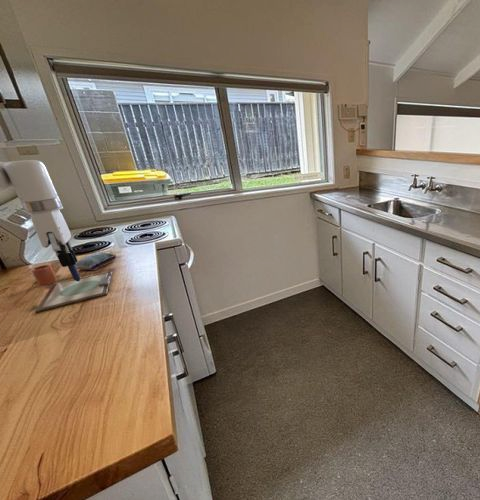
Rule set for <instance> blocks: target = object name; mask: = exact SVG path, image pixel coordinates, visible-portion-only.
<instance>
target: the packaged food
mask: <svg viewBox="0 0 480 500" xmlns="http://www.w3.org/2000/svg"><path fill="white" fill-rule="evenodd" d="M116 258H118V257H117V255H116V254H114V253H108V252H96V253H92V254H88V255H87V256H84V257H82V258H80V259H79V260H78V261H77V262H76V264H75V267H76V269H77V270H81V271H87V270H88V271H95V270H98V269H99V268H101V267H104V266H106V265H108V264H110V263H111V262H113V261H115V259H116Z"/></svg>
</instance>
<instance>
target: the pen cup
mask: <svg viewBox="0 0 480 500" xmlns="http://www.w3.org/2000/svg"><path fill="white" fill-rule="evenodd" d="M30 270H31V273H32V275H33V277H34V279H35V281H36V283H37V285H38V286H47V285H50V284H54V283H55V282H57V281H58V277H57V276H56V273H55V272H54V270H53V267H52V266H51V264H43V265H38V266H36V267H32V268H31V269H30Z"/></svg>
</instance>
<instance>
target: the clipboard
mask: <svg viewBox="0 0 480 500" xmlns="http://www.w3.org/2000/svg"><path fill="white" fill-rule="evenodd" d="M112 274H113V271H106V272H102V273H98V274H93V275H88V276H83V277H81V279H80V281H78V282H77V281H74V279H71V280H67V281H62V282H58V283H52V285H51V286H50V288H49V289H48V291H47V293H46V295H45V296H44V297H43V298H42V300H41V301H40V303H39V305H38V306H37V308H36V309H35V310H34V312H35V314H39V313H43V312H46V311H50V310H55V309H57V308H58V309H59V308H62V307H65V306H70V305H73V304H77V303H82V302H86V301H89V300H93V299H98V298H101V297H105V296H108V293H109V286H110V284H111V283H110V282H111V278H112Z"/></svg>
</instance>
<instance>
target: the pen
mask: <svg viewBox="0 0 480 500" xmlns="http://www.w3.org/2000/svg"><path fill="white" fill-rule="evenodd" d="M67 268H68V270H69V273H70V275H71V277H72V280H74V281H77V282H78V281H80V279H81V278H82V277H81V275H80V273H79V271H78V269H76V267H75V265H71V266H67Z"/></svg>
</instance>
